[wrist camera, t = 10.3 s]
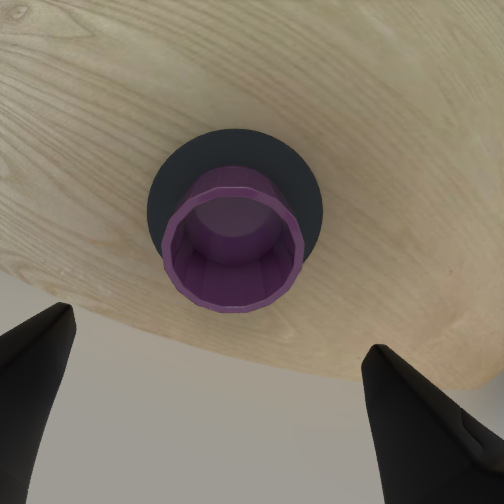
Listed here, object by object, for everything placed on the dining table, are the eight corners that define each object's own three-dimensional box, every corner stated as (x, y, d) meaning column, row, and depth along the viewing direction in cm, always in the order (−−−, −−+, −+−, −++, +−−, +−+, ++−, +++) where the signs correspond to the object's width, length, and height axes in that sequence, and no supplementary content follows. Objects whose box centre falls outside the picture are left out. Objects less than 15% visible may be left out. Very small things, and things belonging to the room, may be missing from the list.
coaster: (235, 314, 20) (235, 319, 20) (117, 219, 17) (114, 222, 16) (352, 218, 17) (355, 221, 17) (235, 90, 14) (235, 90, 13)
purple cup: (233, 283, 19) (233, 332, 15) (158, 219, 16) (135, 257, 12) (308, 218, 17) (330, 256, 13) (233, 141, 15) (232, 154, 11)
